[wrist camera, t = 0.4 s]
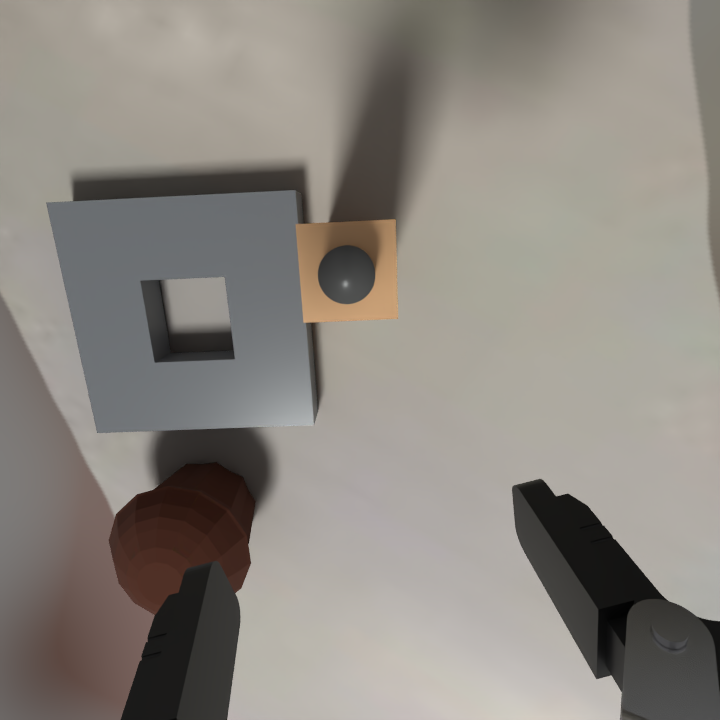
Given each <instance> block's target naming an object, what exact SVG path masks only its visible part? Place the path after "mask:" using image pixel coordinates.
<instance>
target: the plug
mask: <svg viewBox="0 0 720 720" xmlns="http://www.w3.org/2000/svg"><path fill="white" fill-rule="evenodd" d="M296 237H297V249H298V261H299V274H300V286H301V298H302V311H303V323H310V322H333V321H357V320H380V319H398V297H397V254H396V219H390V220H369V221H349V222H329V223H308V224H296Z"/></svg>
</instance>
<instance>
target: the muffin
mask: <svg viewBox="0 0 720 720" xmlns="http://www.w3.org/2000/svg"><path fill="white" fill-rule="evenodd" d="M254 508H255V500H254V498H253V497H252V495H251V494H250V492H249V491H248V489H247V486H246V484H245V481H244V478H243V477H242V476H240V475H237V474H235V473H233V472H231V471H229V470H227V469H226V468H224V467H223V466H221V465H220V464H218V463H217V462H215V463H208V464H186V465H185V466H183V467H182V468H181V469H179V470H178V471H177V472H176V473H174V474H173V475H172V476H171V477H169V478H168V479H167V480H165V481H164V482H163V483H162V484H160V485H159V486H158V487H156V488H155V489H154V490H152V491H148V492H144V493H140V494H137V495H136V496H135V497H134V498H133V499H132V500H131V501H130V502H128V503H127V504H126V505H125V506H124V507H123V508H122V509H121V510H120V511H119V512H118V513H117V514H116V517H115V520H114V524H113V527H112V531H111V535H110V538H109V544H110V548H111V553H112V557H113V561H114V565H115V570H116V574H117V578H118V581H119V584H120V585H121V587H122V588H123V589H124V591H125V592H126V593H127V594H128V596H129V597H130V598H131V599H132V601H133V602H134V603H135V604H137V605H139V606H141V607H142V608H144V609H146V610H147V611H149V612H151V613H153V614H154V615H156V613H157V612H158V610H159V609H160V607H161V606H162V604H163V603H164V601H165V600H166V598H167V597H168V595H171V594H175V593H178V592H179V589H180V586H181V582H182V579H183V575H184V573H185V571H186V569H187V568H190V567H194V566H198V565H202V564H205V563H209V562H213V561H218V562H219V563H220V565H221V567H222V569H223V571H224V573H225V575H226V577H227V579H228V581H229V582H230V584H231V586H232V588H233V590H234V592H235V593H236V592H237V591H238V590H240V589H241V587H242V585H243V582H244V580H245V577H246V575H247V572H248V569H249V567H250V564H251V561H250V553H249V547H248V544H249V539H250V533H251V527H252V520H253V514H254Z"/></svg>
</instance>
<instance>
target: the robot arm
mask: <svg viewBox="0 0 720 720" xmlns="http://www.w3.org/2000/svg"><path fill="white" fill-rule="evenodd" d="M512 494H513V505H514V517H515V527H516V532H517V536H518V539H519V541H520V544H521V546H522V548H523V550H524V552H525V554H526V556H527V558H528V559H529V561H530V563H531V565H532V566H533V568H534V570H535V572H536V573H537V575H538V577H539V579H540V580H541V582H542V584H543V586H544V587H545V589H546V591H547V593H548V595H549V596H550V598H551V600H552V602H553V603H554V605H555V607H556V609H557V610H558V612H559V614H560V616H561V617H562V619H563V621H564V623H565V624H566V626H567V628H568V630H569V631H570V633H571V635H572V637H573V639H574V640H575V642H576V644H577V646H578V647H579V649H580V651H581V653H582V654H583V656H584V658H585V660H586V661H587V663H588V665H589V667H590V668H591V670H592V672H593V674H594V675H595V677H596V679H599V678H602V677H606V676H610V675H612V677H613V678H614V680H615V682H616V683H617V685H618V687H619V688H620V690H621V692H622V698H621V715H620V720H720V621H711V620H706V619H702V618H699V617H697V616H695V615H694V614H693V613H691V612H690V611H688V610H687V609H685V608H684V607H682V606H680V605H677V604H675V603H672V602H669V601H668V600H667V599H665V598H664V597H663V596H662V595H661V594H660V593H659V592H658V590H657V589H656V588H655V587H654V586H653V584H652V583H651V582H650V581H649V579H648V578H647V577H646V576H645V575H644V573H643V572H642V571H641V570H640V569H639V567H638V566H637V565H636V564H635V563H634V561H633V560H632V559H631V558H630V557H629V555H628V554H627V553H626V552H625V551H624V549H623V548H622V547H621V546H620V545H619V543H618V542H617V541H616V540H614V539H613V537H612V535H611V534H610V532H609V531H608V530H607V529H606V528H605V526H602V524H601V522H600V520H599V519H598V518H597V517H596V516H595V514H594V513H593V512H592V511H591V510H590V508H589V507H588V506H587V505H585V504H584V503H582V502H581V501H579V500H577V499H576V498H574V497H573V496H571V495H569V494H565V495H561V496H557V497H556V496H555V495H554V493H553V492H552V491H551V489H550V488H549V487H548V485H547V484H546V483H545V482H544V481H543V480H542V479H538V480H534V481H530V482H526V483H522V484H518V485H514V486H513V487H512ZM239 628H240V607H239V602H238V599H237V596H236V594H235V592H234V590H233V588H232V586H231V584H230V582H229V581H228V579H227V577H226V575H225V573H224V571H223V569H222V567H221V565H220V563H219V562H218V561H213V562H209V563H205V564H202V565H198V566H194V567H190V568H187V569H186V571H185V573H184V575H183V579H182V582H181V586H180V589H179V592H178V593H175V594H171V595H168V597H167V598H166V600H165V601H164V603H163V604H162V606H161V607H160V609H159V610H158V612H157V613H156V615H155V617H154V620H153V623H152V626H151V629H150V632H149V635H148V642H146V644H145V647H144V650H143V653H142V661H140V663H139V665H138V668H137V672H136V675H135V678H134V681H133V684H132V687H131V690H130V693H129V696H128V699H127V702H126V705H125V708H124V711H123V714H122V718H121V720H227V716H228V708H229V701H230V694H231V686H232V679H233V672H234V664H235V657H236V650H237V642H238V635H239Z"/></svg>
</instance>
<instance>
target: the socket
mask: <svg viewBox="0 0 720 720" xmlns="http://www.w3.org/2000/svg"><path fill="white" fill-rule="evenodd" d="M46 204H47V208H48V213H49V217H50V222H51V226H52V231H53V235H54V240H55V244H56V249H57V253H58V258H59V263H60V267H61V272H62V276H63V281H64V285H65V290H66V294H67V299H68V303H69V308H70V312H71V317H72V321H73V326H74V330H75V335H76V339H77V344H78V348H79V353H80V357H81V362H82V366H83V371H84V375H85V380H86V384H87V389H88V393H89V398H90V402H91V407H92V412H93V416H94V421H95V425H96V430H97V433H110V432H137V431H164V430H191V429H218V428H245V427H273V426H300V425H314V423H315V420H316V416H317V413H318V405H317V392H316V378H315V365H314V352H313V339H312V326H311V322H310V323H303V311H302V298H301V286H300V274H299V261H298V249H297V237H296V224H304V221H303V208H302V195H301V194H300V193H299V192H298V191H296V190H286V191H266V192H247V193H227V194H207V195H188V196H168V197H148V198H129V199H109V200H89V201H70V202H50V203H46ZM208 277H225V283H226V291H227V299H228V307H229V315H230V323H231V331H232V339H233V347H234V351H211V352H187V353H171V351H170V345H169V339H168V333H167V327H166V320H165V314H164V308H163V302H162V296H161V290H160V284H159V280H164V279H186V278H208Z"/></svg>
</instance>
